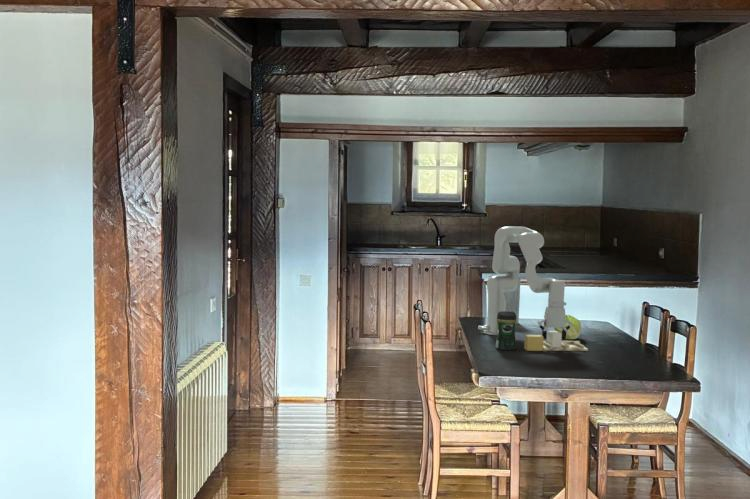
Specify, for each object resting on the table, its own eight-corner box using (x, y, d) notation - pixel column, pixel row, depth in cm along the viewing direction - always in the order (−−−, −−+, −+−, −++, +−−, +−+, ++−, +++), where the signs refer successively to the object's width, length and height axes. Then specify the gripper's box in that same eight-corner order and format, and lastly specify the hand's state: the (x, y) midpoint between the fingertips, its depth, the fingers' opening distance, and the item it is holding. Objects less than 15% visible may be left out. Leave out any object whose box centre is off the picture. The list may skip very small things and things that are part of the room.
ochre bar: (527, 350, 372) (527, 336, 372) (524, 348, 377) (524, 334, 376) (542, 350, 373) (543, 336, 373) (539, 348, 378) (540, 334, 377)
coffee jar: (513, 347, 378) (515, 310, 377) (516, 350, 371) (518, 313, 369) (494, 346, 379) (495, 309, 377) (496, 350, 371) (498, 312, 369)
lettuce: (557, 332, 393) (580, 318, 392) (547, 319, 415) (570, 307, 414) (568, 352, 396) (592, 339, 394) (559, 339, 417) (581, 327, 416)
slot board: (544, 350, 374) (545, 345, 374) (536, 345, 386) (537, 340, 385) (587, 350, 376) (588, 345, 376) (578, 345, 388) (579, 340, 388)
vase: (519, 324, 446) (521, 278, 443) (502, 324, 446) (504, 278, 444) (516, 321, 456) (518, 276, 453) (500, 321, 456) (502, 276, 454)
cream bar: (546, 344, 384) (547, 330, 383) (555, 344, 384) (555, 330, 384) (552, 347, 376) (552, 333, 375) (561, 347, 376) (561, 333, 376)
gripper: (569, 303, 383) (567, 337, 384) (536, 303, 381) (534, 337, 382) (575, 306, 376) (573, 340, 377) (541, 305, 374) (539, 340, 375)
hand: (553, 338), depth 380 cm, fingers open, 9 cm apart
